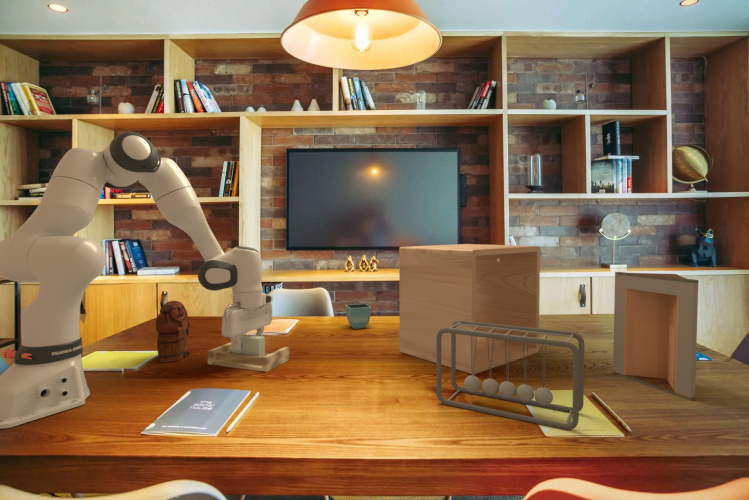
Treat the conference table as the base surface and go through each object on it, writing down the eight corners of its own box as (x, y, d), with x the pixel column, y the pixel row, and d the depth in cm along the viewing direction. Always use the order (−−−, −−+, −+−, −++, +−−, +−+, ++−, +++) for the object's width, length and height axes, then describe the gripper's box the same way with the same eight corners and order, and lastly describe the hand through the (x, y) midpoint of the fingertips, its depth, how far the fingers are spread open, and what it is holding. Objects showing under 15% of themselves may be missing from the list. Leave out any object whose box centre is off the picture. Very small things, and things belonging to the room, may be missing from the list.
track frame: (266, 371, 125) (266, 357, 125) (207, 364, 133) (207, 350, 132) (289, 359, 136) (289, 347, 136) (234, 353, 144) (233, 341, 144)
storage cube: (471, 375, 121) (472, 250, 120) (399, 352, 144) (399, 246, 142) (538, 352, 143) (540, 246, 142) (467, 335, 166) (467, 243, 164)
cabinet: (613, 373, 122) (615, 272, 121) (638, 369, 126) (640, 270, 124) (690, 400, 103) (693, 280, 101) (717, 394, 106) (721, 278, 105)
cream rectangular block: (259, 362, 131) (258, 339, 131) (231, 359, 135) (231, 336, 135) (265, 359, 134) (264, 336, 134) (237, 356, 138) (237, 334, 137)
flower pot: (345, 326, 183) (344, 304, 183) (365, 324, 186) (365, 303, 185) (350, 330, 175) (350, 308, 174) (371, 329, 177) (371, 306, 177)
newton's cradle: (435, 403, 102) (435, 327, 101) (451, 389, 111) (452, 319, 110) (578, 433, 87) (579, 343, 86) (583, 413, 96) (584, 332, 95)
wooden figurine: (175, 363, 134) (173, 304, 133) (154, 363, 134) (153, 304, 133) (194, 352, 145) (192, 298, 144) (175, 352, 146) (174, 297, 145)
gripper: (233, 306, 123) (234, 355, 123) (275, 295, 142) (276, 338, 143) (215, 305, 125) (216, 353, 126) (259, 294, 144) (259, 336, 145)
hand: (248, 345), depth 134 cm, fingers open, 8 cm apart
